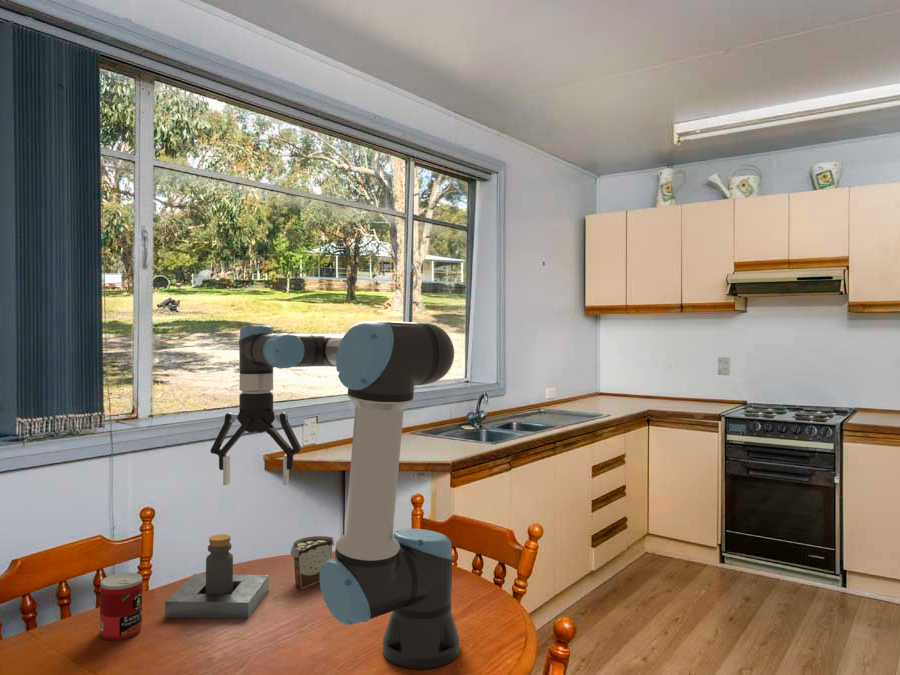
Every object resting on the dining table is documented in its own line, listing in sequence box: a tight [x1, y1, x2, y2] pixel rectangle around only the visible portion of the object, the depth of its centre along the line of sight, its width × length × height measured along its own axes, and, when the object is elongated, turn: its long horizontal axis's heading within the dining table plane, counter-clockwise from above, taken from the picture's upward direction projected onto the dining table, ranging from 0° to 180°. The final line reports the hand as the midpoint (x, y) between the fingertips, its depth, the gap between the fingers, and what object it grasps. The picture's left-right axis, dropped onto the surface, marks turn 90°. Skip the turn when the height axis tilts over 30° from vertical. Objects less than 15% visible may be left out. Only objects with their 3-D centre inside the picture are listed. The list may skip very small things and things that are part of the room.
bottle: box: [205, 533, 234, 594], centre depth 149 cm, size 6×6×15 cm
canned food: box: [99, 572, 143, 641], centre depth 134 cm, size 8×8×11 cm
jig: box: [164, 573, 270, 620], centre depth 149 cm, size 16×18×4 cm
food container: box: [290, 535, 335, 590], centre depth 163 cm, size 12×6×10 cm, turn 144°
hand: (256, 483), depth 151 cm, fingers open, 13 cm apart
